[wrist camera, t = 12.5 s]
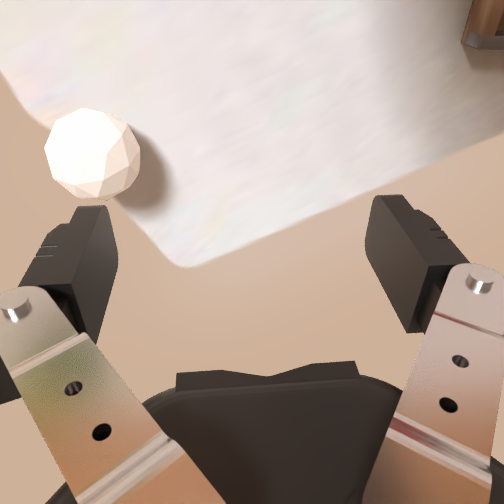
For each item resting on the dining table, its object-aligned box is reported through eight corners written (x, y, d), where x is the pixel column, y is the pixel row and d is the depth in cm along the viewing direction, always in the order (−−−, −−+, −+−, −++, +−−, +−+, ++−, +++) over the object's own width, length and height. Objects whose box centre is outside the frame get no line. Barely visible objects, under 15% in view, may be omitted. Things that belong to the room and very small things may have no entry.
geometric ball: (88, 131, 41) (10, 139, 35) (136, 91, 37) (57, 91, 30) (122, 201, 42) (52, 222, 36) (173, 170, 37) (104, 187, 31)
